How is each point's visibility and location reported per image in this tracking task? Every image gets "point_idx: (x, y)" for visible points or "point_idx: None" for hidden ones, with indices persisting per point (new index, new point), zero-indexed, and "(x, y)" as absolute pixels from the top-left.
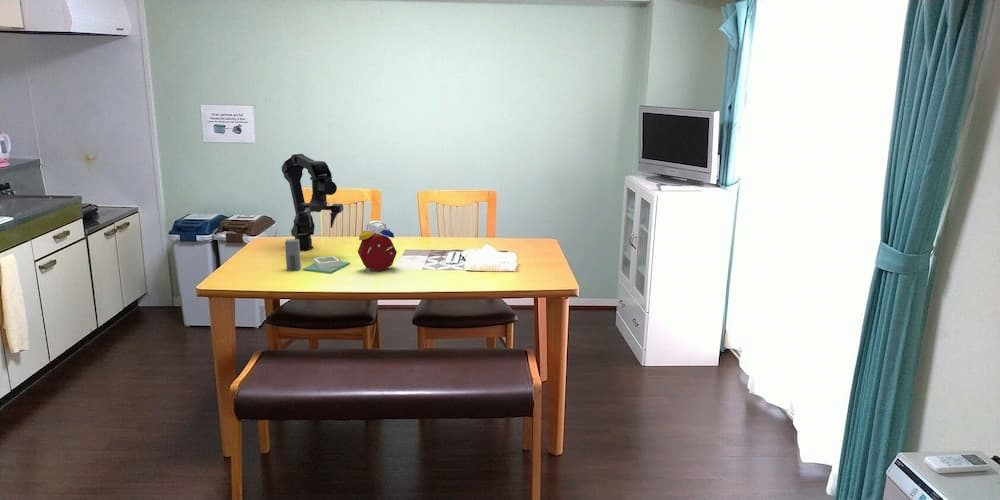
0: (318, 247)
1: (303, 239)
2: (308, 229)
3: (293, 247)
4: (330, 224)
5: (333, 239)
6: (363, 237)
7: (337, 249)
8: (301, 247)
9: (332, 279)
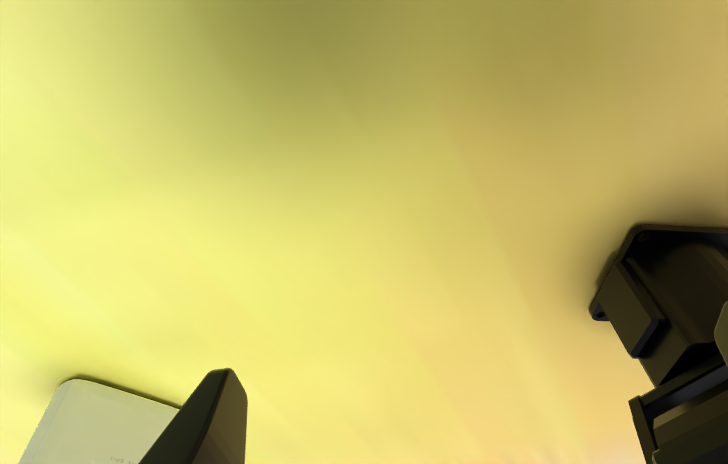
0: (549, 325)
1: (709, 311)
2: (713, 416)
3: None
4: (200, 435)
5: (506, 460)
6: None
7: (381, 317)
8: (688, 248)
9: None
